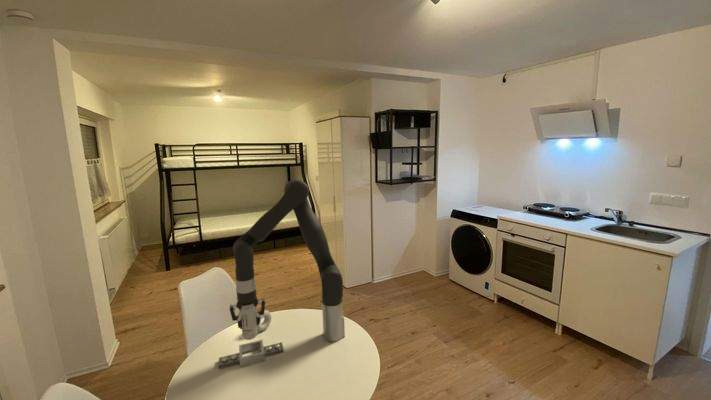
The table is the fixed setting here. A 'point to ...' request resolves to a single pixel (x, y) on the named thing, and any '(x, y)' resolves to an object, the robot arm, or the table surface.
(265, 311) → the donut
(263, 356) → the mounting bracket
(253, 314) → the energy drink can
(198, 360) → the table surface
